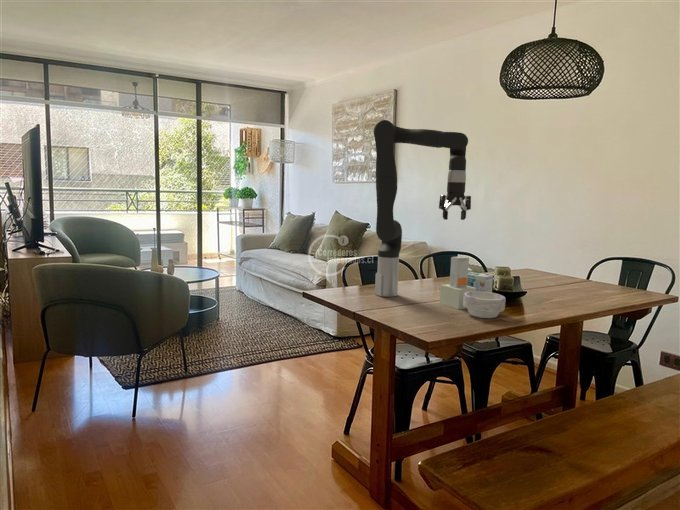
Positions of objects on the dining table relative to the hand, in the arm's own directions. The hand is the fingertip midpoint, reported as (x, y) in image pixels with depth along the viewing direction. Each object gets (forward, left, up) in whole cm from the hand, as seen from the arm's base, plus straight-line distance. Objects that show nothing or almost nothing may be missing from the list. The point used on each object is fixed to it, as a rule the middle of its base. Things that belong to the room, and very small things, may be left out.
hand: (454, 219), depth 211 cm
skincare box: (-5, -13, -27) cm, 30 cm away
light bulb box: (+11, -4, -35) cm, 37 cm away
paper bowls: (-5, -30, -35) cm, 46 cm away
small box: (+15, +12, -34) cm, 40 cm away
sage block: (-5, -13, -34) cm, 37 cm away
